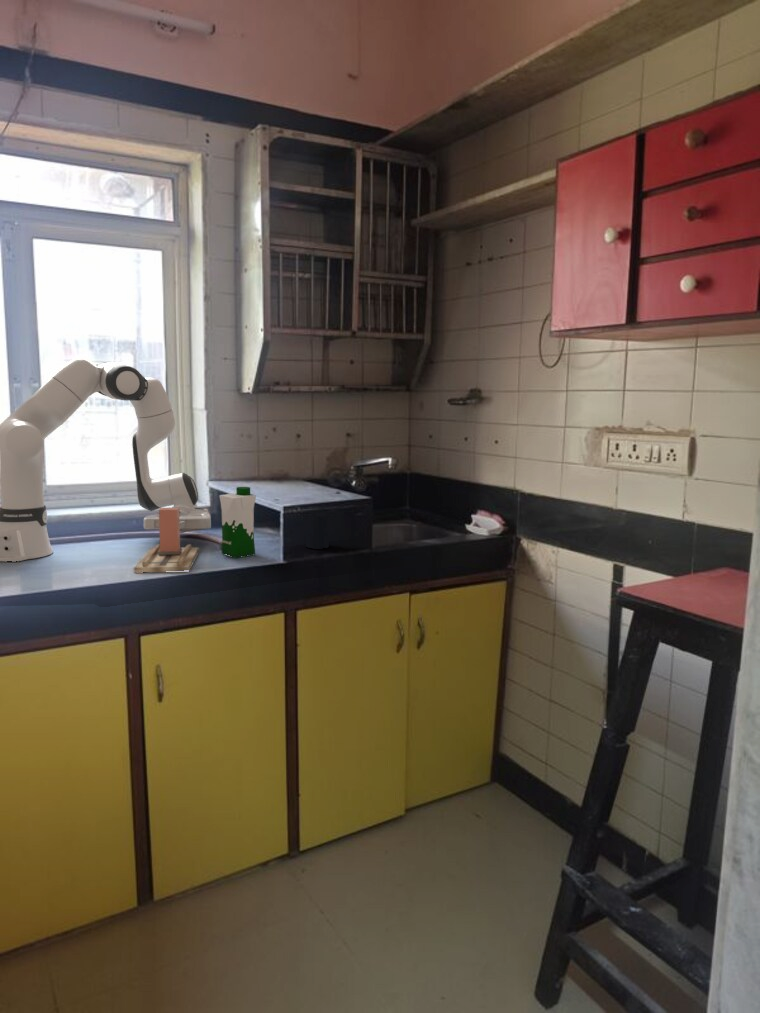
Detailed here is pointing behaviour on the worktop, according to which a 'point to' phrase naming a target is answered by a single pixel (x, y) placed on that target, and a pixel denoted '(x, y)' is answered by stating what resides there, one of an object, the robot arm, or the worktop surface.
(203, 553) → the worktop surface
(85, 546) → the worktop surface
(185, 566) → the tan flat ridged board
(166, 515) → the salmon orange rectangular block
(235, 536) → the milk carton
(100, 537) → the worktop surface
